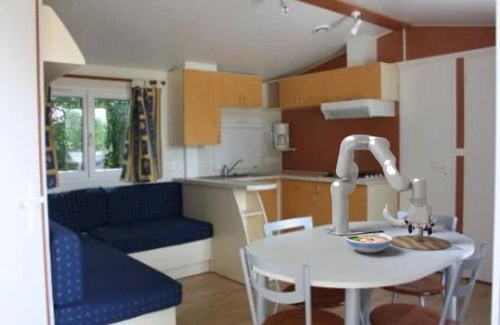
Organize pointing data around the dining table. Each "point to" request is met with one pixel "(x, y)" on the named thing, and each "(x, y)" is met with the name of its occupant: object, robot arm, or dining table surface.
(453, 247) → the mat
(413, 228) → the greeting card
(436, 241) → the lid
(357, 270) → the dining table surface
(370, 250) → the ramen bowl
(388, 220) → the banana
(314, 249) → the dining table surface
